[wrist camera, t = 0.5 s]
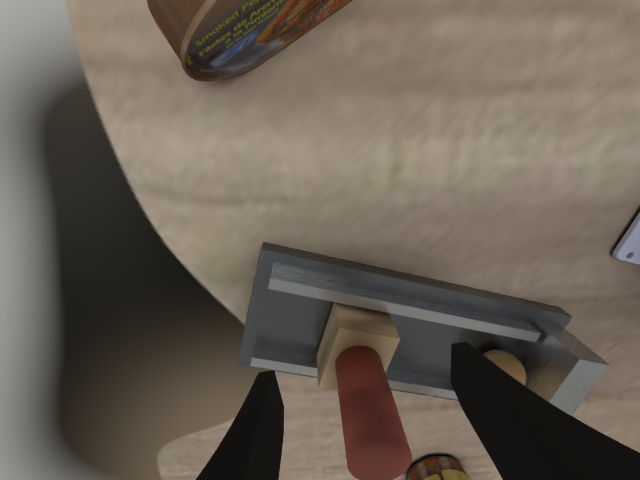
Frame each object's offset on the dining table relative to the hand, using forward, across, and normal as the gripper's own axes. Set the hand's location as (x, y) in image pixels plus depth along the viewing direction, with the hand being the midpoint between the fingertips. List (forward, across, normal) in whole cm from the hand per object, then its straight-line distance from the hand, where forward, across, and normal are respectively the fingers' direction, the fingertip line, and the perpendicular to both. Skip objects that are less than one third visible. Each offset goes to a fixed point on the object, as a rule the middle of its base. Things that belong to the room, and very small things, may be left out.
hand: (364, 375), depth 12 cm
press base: (+10, -4, +7) cm, 13 cm away
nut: (+8, -11, +10) cm, 16 cm away
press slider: (+9, 0, +5) cm, 10 cm away
